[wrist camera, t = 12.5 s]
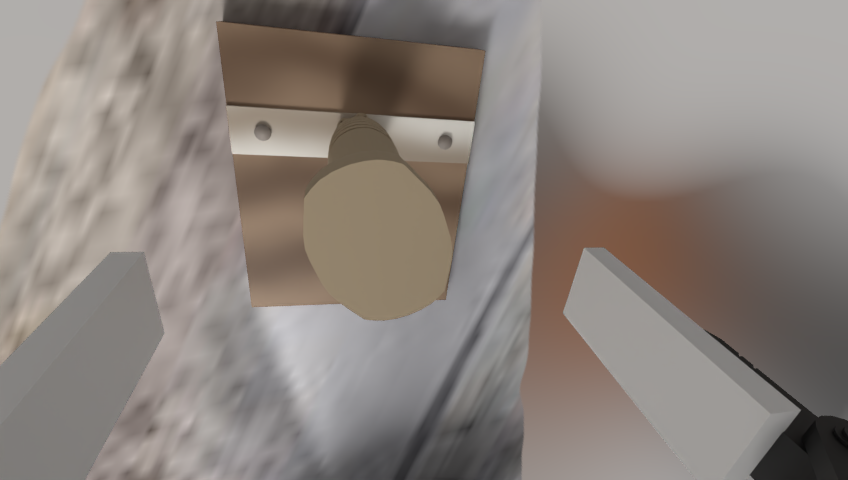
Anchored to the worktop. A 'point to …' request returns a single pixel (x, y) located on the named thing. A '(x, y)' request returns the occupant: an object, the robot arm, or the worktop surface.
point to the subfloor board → (317, 121)
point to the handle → (375, 226)
